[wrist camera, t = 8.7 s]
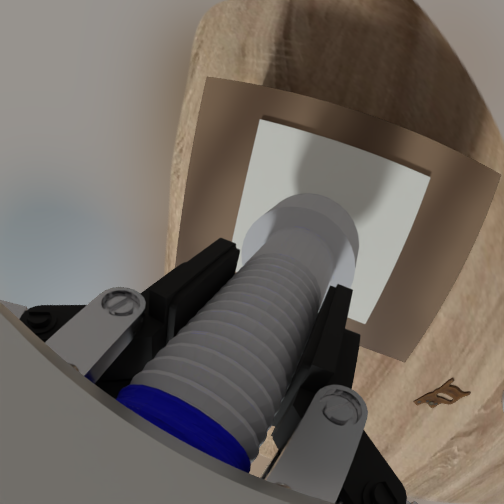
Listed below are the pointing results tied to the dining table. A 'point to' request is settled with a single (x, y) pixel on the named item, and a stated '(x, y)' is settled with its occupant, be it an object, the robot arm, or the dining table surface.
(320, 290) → the bolt
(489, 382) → the dining table surface
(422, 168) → the wooden box
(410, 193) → the lid mat
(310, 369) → the robot arm
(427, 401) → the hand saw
